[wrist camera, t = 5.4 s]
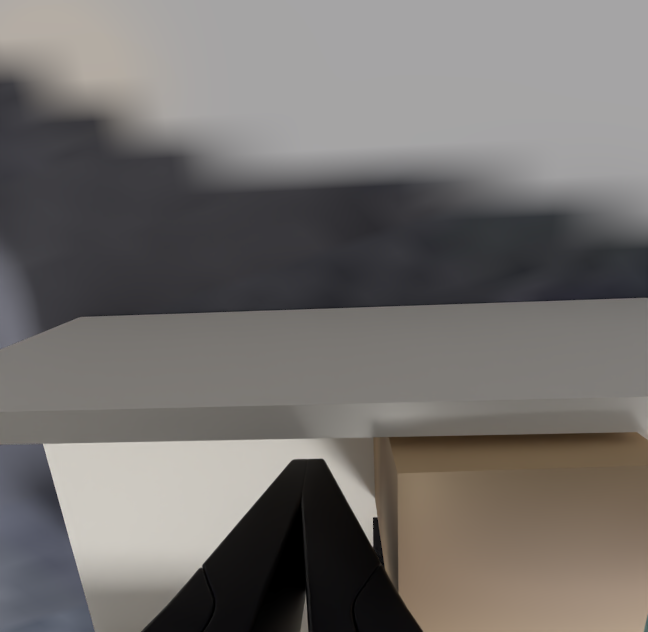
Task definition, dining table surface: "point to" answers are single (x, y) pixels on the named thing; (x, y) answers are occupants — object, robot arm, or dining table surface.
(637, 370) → the channel
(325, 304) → the dining table surface
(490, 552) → the oak block
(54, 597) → the dining table surface
